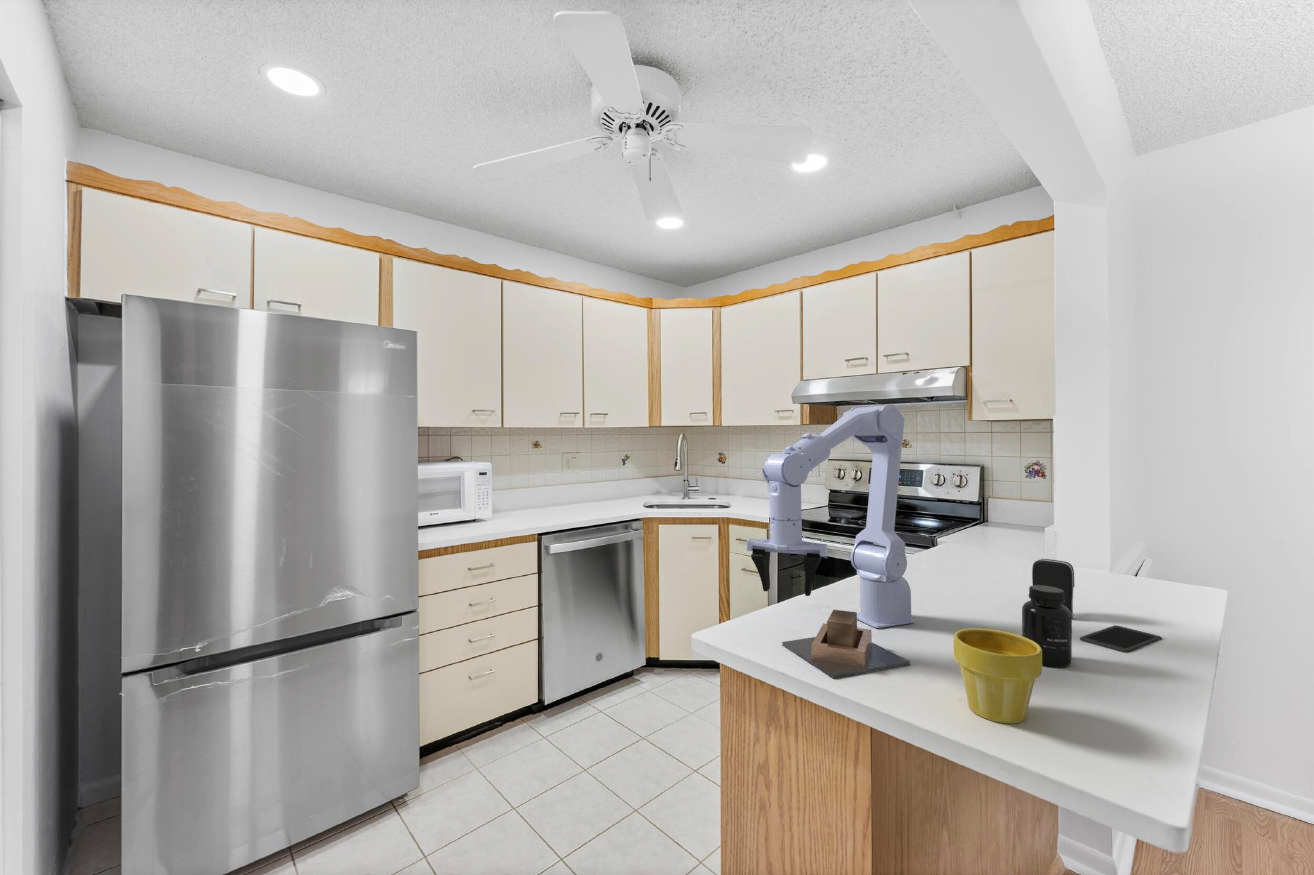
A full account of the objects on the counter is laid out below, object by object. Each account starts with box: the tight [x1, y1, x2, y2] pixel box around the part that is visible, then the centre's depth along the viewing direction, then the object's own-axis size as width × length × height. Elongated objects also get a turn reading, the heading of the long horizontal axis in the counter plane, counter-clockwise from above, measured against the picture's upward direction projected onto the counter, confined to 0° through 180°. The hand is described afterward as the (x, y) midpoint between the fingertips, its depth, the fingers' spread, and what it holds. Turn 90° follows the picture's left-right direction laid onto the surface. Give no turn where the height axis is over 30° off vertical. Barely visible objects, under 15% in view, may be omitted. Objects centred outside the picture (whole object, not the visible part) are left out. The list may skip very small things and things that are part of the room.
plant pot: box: [953, 627, 1043, 725], centre depth 75 cm, size 10×10×10 cm
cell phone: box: [1079, 625, 1163, 654], centre depth 101 cm, size 7×14×1 cm, turn 118°
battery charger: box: [1031, 558, 1075, 619], centre depth 115 cm, size 7×4×11 cm, turn 43°
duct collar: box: [781, 623, 911, 680], centre depth 96 cm, size 15×15×3 cm
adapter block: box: [826, 609, 858, 648], centre depth 96 cm, size 4×7×6 cm, turn 154°
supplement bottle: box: [1021, 584, 1073, 668], centre depth 92 cm, size 7×7×12 cm
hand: (787, 592), depth 102 cm, fingers open, 7 cm apart
